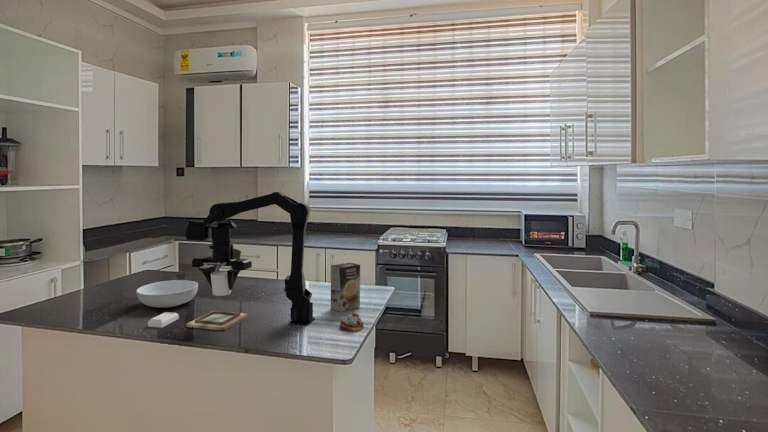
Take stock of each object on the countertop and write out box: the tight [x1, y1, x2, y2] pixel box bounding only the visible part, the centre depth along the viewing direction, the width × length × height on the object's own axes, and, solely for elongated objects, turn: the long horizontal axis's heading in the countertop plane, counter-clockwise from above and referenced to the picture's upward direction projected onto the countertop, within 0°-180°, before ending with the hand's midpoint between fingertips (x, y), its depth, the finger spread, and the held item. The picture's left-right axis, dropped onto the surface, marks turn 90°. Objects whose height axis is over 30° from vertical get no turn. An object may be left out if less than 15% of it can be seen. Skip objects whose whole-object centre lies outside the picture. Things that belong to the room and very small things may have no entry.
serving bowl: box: [135, 279, 199, 309], centre depth 166 cm, size 21×21×7 cm
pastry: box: [340, 312, 364, 332], centre depth 142 cm, size 8×8×5 cm
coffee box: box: [330, 262, 361, 313], centre depth 162 cm, size 9×6×16 cm
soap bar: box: [147, 311, 180, 328], centre depth 146 cm, size 5×9×3 cm, turn 172°
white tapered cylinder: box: [211, 270, 232, 297], centre depth 144 cm, size 7×7×7 cm
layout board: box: [185, 310, 249, 331], centre depth 147 cm, size 14×14×2 cm
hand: (222, 288), depth 145 cm, fingers closed on white tapered cylinder, 6 cm apart
